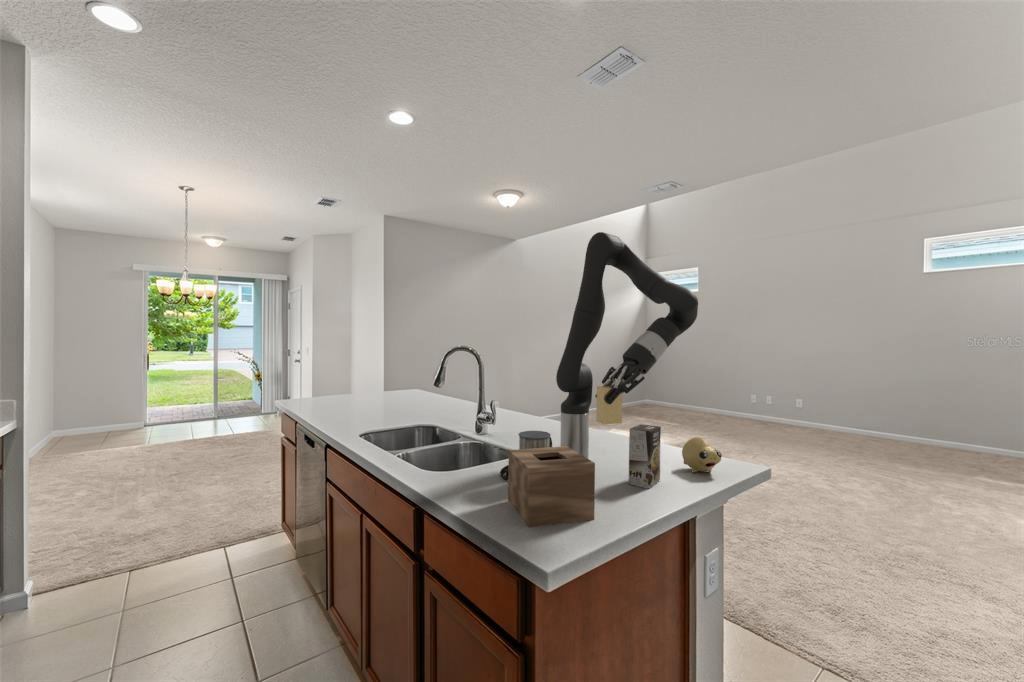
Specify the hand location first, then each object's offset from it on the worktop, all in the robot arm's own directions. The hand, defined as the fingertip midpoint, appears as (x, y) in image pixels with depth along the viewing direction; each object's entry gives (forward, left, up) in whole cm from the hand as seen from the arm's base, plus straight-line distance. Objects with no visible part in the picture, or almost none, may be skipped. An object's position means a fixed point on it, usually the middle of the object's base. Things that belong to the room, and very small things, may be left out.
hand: (602, 400), depth 109 cm
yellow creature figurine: (-15, +43, -26) cm, 52 cm away
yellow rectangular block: (0, +2, -6) cm, 6 cm away
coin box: (0, -14, -26) cm, 30 cm away
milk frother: (-20, -14, -26) cm, 36 cm away
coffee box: (-11, +20, -26) cm, 35 cm away
